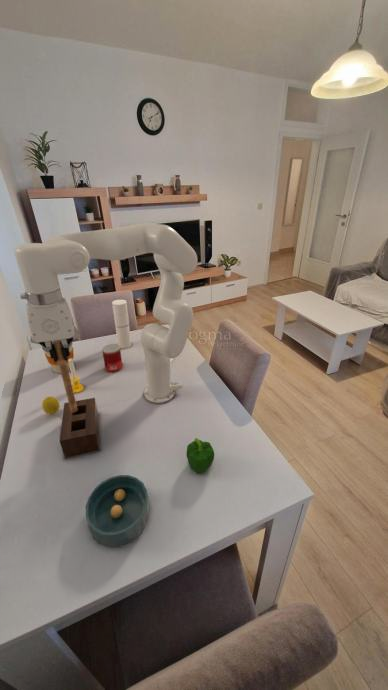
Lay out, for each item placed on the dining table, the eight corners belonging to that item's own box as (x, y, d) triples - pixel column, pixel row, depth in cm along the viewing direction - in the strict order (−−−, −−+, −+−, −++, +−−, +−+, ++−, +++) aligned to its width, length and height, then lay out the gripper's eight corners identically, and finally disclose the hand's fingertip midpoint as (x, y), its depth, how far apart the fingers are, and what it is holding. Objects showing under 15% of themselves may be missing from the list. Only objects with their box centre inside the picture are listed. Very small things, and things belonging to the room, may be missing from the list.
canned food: (125, 366, 133) (123, 346, 128) (113, 374, 127) (110, 354, 122) (114, 361, 137) (111, 342, 131) (102, 369, 131) (98, 349, 125)
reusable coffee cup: (49, 363, 134) (41, 336, 127) (76, 358, 139) (70, 331, 131) (48, 377, 124) (40, 349, 117) (78, 371, 129) (71, 343, 121)
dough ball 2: (121, 517, 70) (117, 504, 70) (110, 522, 70) (106, 509, 70) (125, 513, 72) (121, 501, 73) (115, 518, 72) (111, 506, 73)
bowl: (144, 482, 81) (142, 468, 78) (154, 536, 68) (152, 522, 65) (89, 497, 77) (86, 483, 74) (89, 557, 64) (84, 544, 61)
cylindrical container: (115, 347, 149) (109, 304, 136) (121, 341, 155) (115, 299, 143) (128, 348, 148) (123, 305, 135) (133, 342, 154) (128, 300, 142)
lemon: (55, 419, 102) (50, 403, 98) (42, 417, 103) (36, 401, 99) (64, 409, 107) (59, 393, 103) (51, 407, 108) (46, 391, 104)
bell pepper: (216, 475, 83) (218, 452, 78) (189, 480, 82) (190, 457, 77) (209, 452, 90) (210, 430, 85) (184, 456, 89) (184, 434, 84)
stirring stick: (77, 407, 87) (61, 339, 76) (77, 411, 85) (60, 342, 74) (71, 409, 86) (53, 340, 76) (70, 413, 85) (52, 343, 74)
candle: (73, 394, 115) (65, 363, 107) (68, 388, 118) (60, 357, 110) (85, 389, 118) (78, 358, 110) (81, 383, 121) (74, 353, 113)
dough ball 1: (123, 504, 74) (129, 492, 75) (114, 498, 73) (120, 487, 75) (118, 502, 76) (124, 491, 78) (110, 497, 75) (116, 486, 77)
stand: (98, 413, 105) (94, 397, 101) (99, 450, 90) (95, 433, 86) (68, 419, 102) (64, 403, 98) (64, 458, 88) (59, 441, 84)
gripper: (4, 304, 63) (27, 370, 72) (78, 298, 68) (91, 361, 77) (12, 294, 69) (32, 356, 79) (79, 289, 74) (91, 348, 83)
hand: (61, 358), depth 78 cm, fingers closed on stirring stick, 2 cm apart
